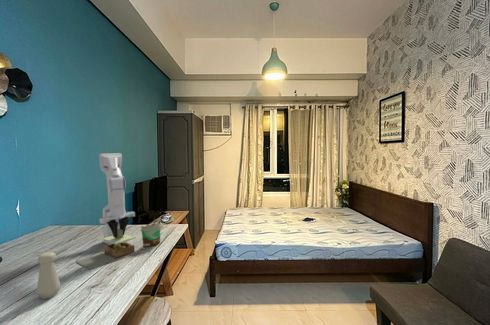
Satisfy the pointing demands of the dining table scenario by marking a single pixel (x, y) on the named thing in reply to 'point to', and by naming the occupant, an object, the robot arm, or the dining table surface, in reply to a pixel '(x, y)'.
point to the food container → (151, 234)
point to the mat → (95, 261)
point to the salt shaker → (47, 276)
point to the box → (119, 249)
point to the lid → (119, 237)
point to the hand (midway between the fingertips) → (118, 236)
